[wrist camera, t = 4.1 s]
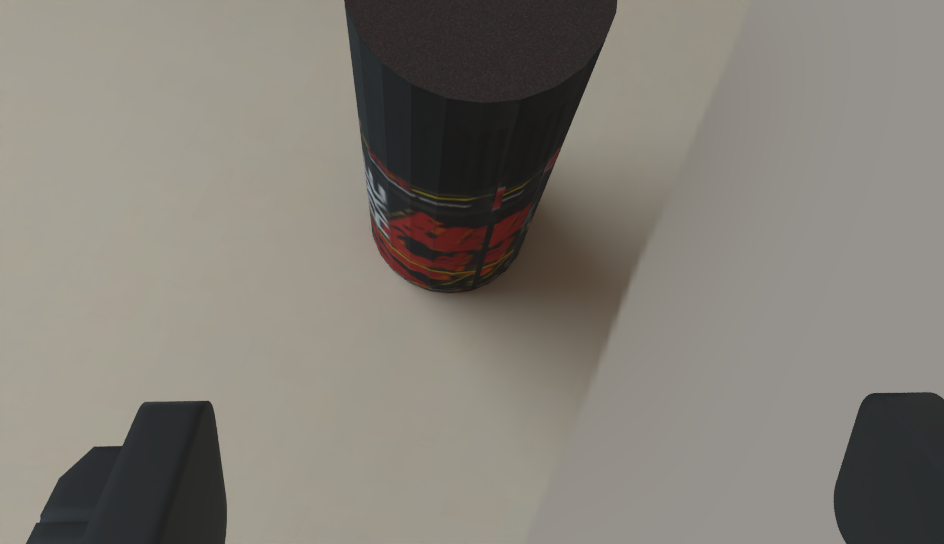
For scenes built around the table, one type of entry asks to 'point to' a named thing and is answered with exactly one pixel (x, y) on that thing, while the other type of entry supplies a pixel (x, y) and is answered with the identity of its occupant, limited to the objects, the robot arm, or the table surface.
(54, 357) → the table surface
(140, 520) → the robot arm
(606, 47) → the table surface
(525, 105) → the deodorant
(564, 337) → the table surface
